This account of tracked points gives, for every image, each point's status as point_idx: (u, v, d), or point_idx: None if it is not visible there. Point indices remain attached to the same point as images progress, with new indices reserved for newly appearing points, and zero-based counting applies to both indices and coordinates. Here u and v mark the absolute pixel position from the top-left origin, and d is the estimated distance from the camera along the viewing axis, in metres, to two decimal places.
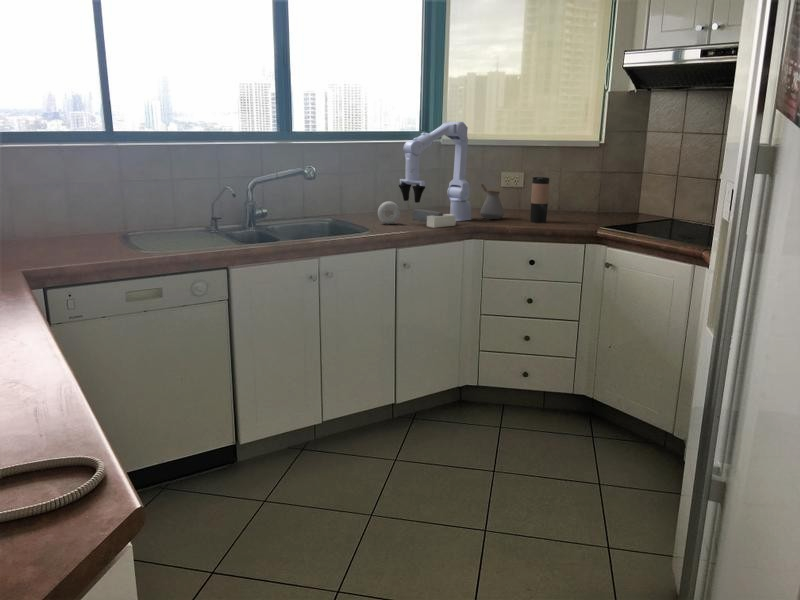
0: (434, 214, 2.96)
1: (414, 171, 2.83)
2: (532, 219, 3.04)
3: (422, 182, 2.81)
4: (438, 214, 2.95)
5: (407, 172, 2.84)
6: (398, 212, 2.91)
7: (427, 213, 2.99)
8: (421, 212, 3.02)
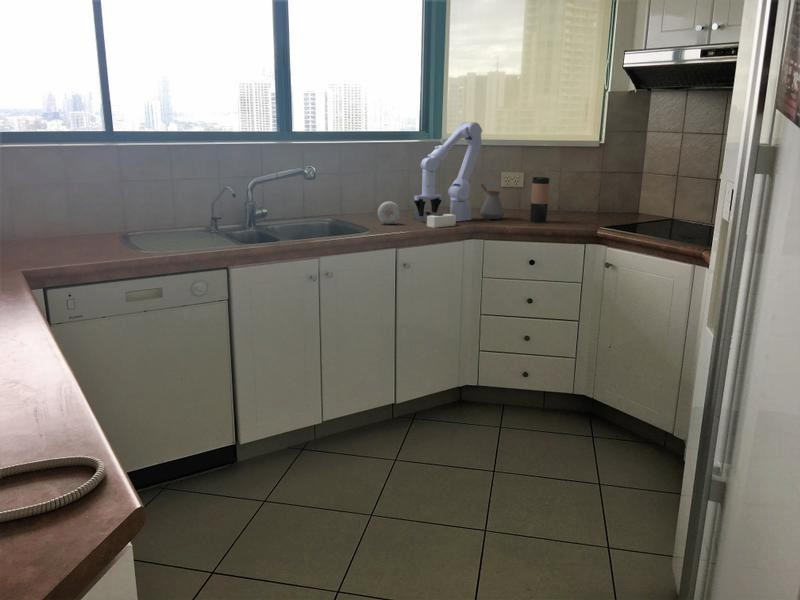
0: (434, 214, 2.96)
1: (422, 186, 2.97)
2: (532, 219, 3.04)
3: (415, 197, 2.95)
4: (438, 214, 2.95)
5: None
6: (398, 212, 2.91)
7: (427, 213, 2.99)
8: None
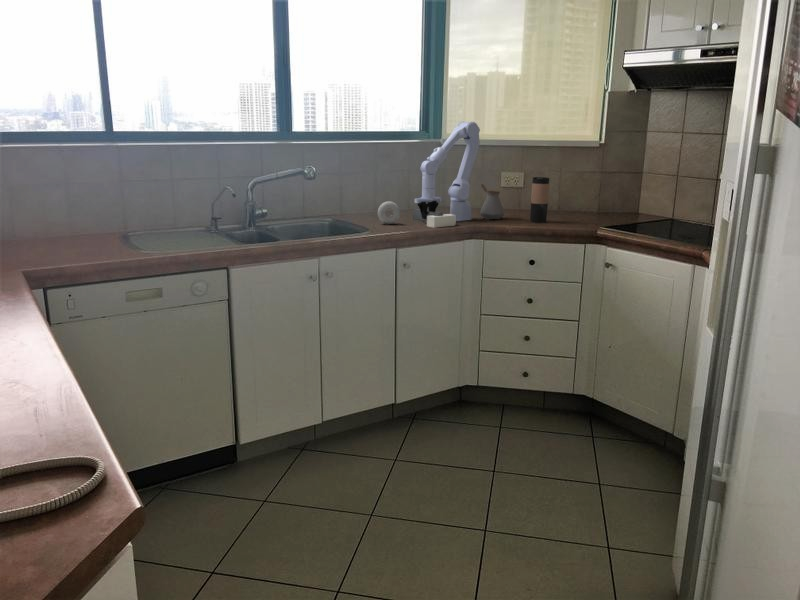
0: (434, 214, 2.96)
1: (422, 189, 2.98)
2: (532, 219, 3.04)
3: (415, 199, 2.96)
4: (438, 214, 2.95)
5: None
6: (398, 212, 2.91)
7: (427, 213, 2.99)
8: None
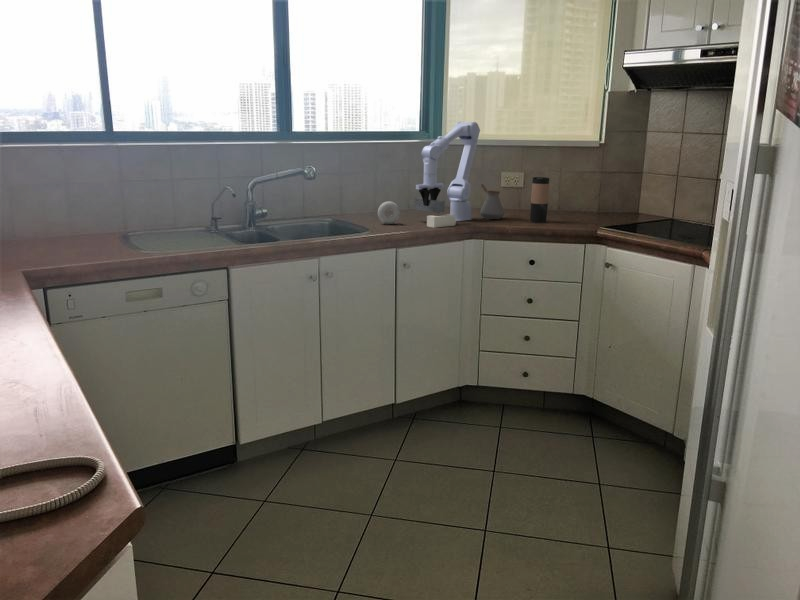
0: (435, 202, 2.88)
1: (424, 175, 2.90)
2: (532, 219, 3.04)
3: (416, 186, 2.87)
4: (439, 202, 2.87)
5: None
6: (398, 212, 2.91)
7: None
8: (422, 200, 2.94)
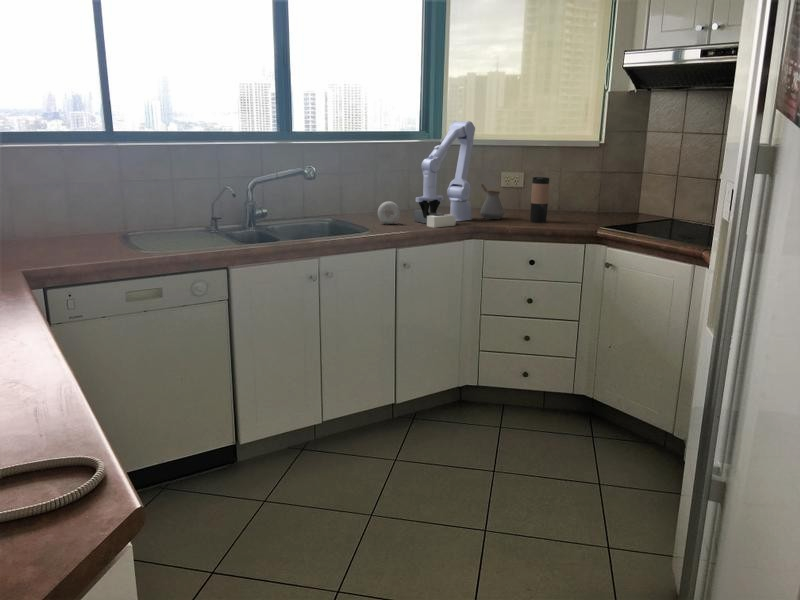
0: (435, 215, 2.89)
1: (423, 187, 2.91)
2: (532, 219, 3.04)
3: (416, 198, 2.89)
4: (439, 215, 2.88)
5: None
6: (398, 212, 2.91)
7: (428, 214, 2.92)
8: (422, 213, 2.95)
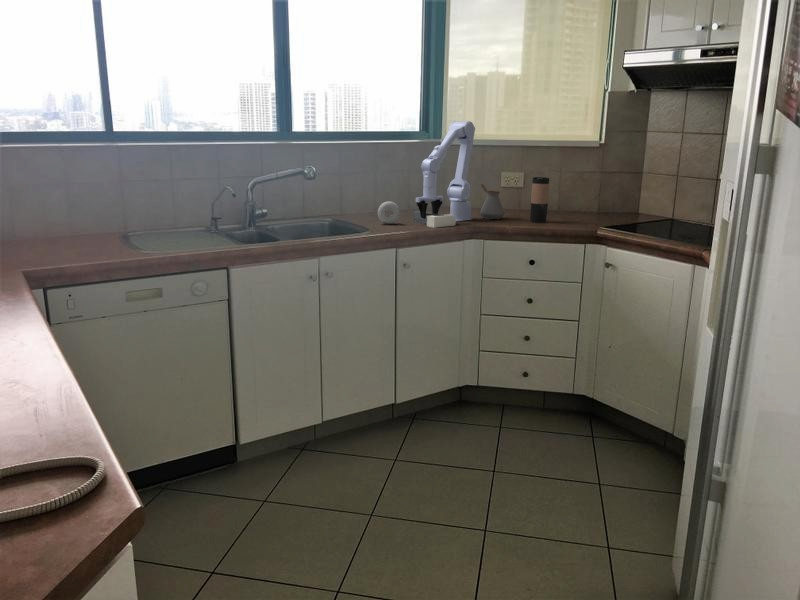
0: None
1: (423, 188, 2.91)
2: (532, 219, 3.04)
3: (416, 198, 2.89)
4: None
5: None
6: (398, 212, 2.91)
7: (428, 215, 2.93)
8: None
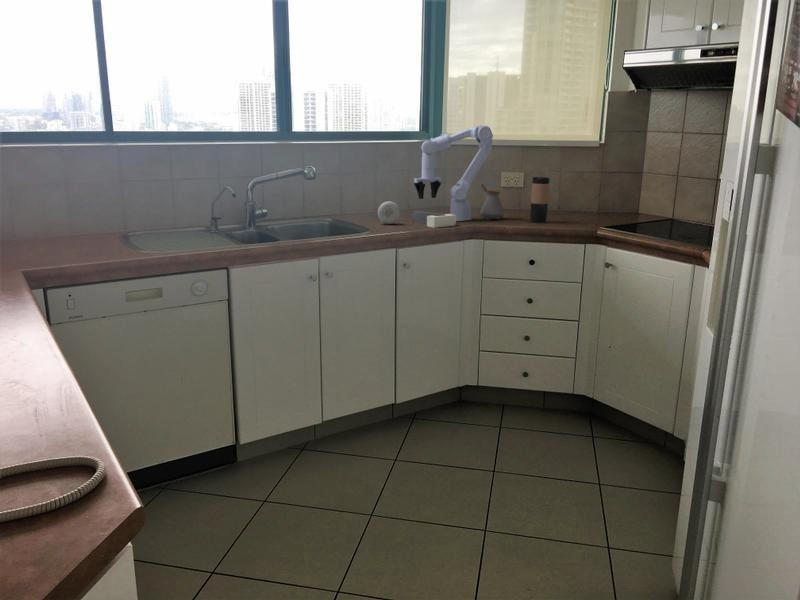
0: None
1: (422, 169, 3.00)
2: (532, 219, 3.04)
3: (415, 179, 2.98)
4: None
5: None
6: (398, 212, 2.91)
7: (429, 215, 2.93)
8: (422, 214, 2.95)
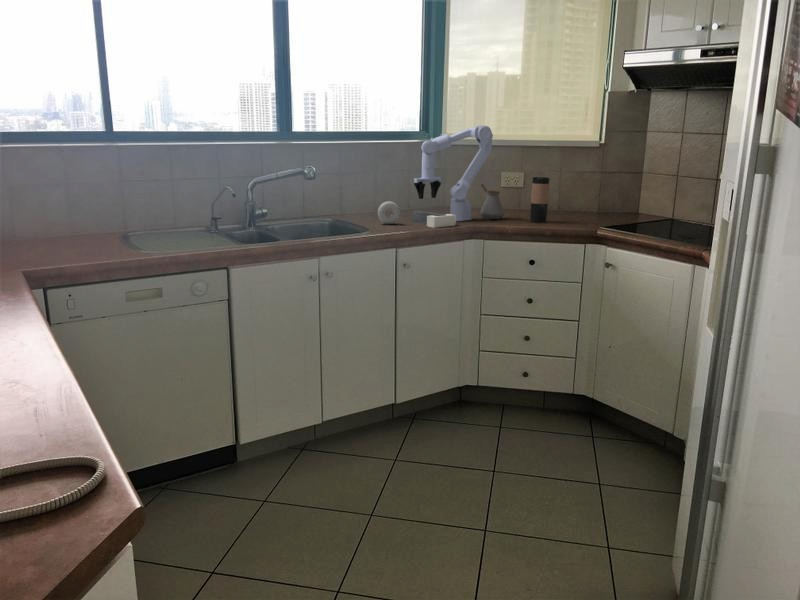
0: None
1: (422, 169, 3.00)
2: (532, 219, 3.04)
3: (415, 179, 2.98)
4: None
5: None
6: (398, 212, 2.91)
7: (429, 215, 2.93)
8: (422, 214, 2.95)
